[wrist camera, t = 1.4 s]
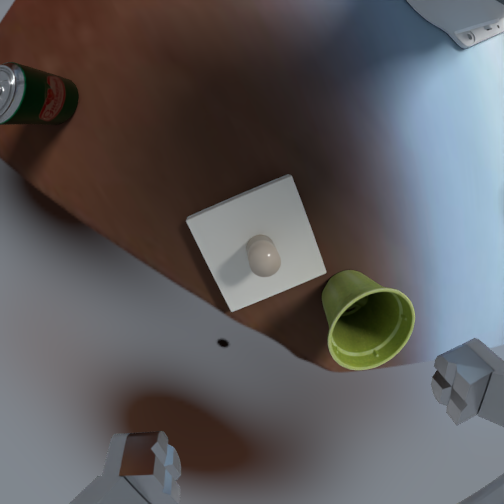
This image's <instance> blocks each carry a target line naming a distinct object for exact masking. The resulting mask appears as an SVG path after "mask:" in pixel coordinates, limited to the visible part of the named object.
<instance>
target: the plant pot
mask: <svg viewBox="0 0 504 504" xmlns="http://www.w3.org/2000/svg"><path fill="white" fill-rule="evenodd" d="M322 304H323V308H324V311H325V314H326V318H327V321H328V325H329V332H328V341H327V342H328V348H329V351H330V354H331V356H332V357H333V359H334V360H335V361H336V362H337V363H338V364H339V365H341V366H343V367H345V368H348V369H351V370H366V369H371V368H375V367H377V366H379V365H382V364H384V363H386V362H387V361H389V360H390V359H391V358H393V357H394V356H395V355H396V354H397V353H398V352H399V351H400V350H401V349H402V348H403V347H404V346H405V344H406V343H407V341H408V339H409V338H410V336H411V333H412V331H413V328H414V323H415V312H414V307H413V305H412V303H411V301H410V300H409V298H408V297H407V296H406V295H405V294H403V293H402V292H400V291H398V290H396V289H392V288H385V287H382V286H381V285H379V284H377V283H376V282H374V281H373V280H371V279H370V278H368V277H367V276H365V275H364V274H362V273H360V272H358V271H355V270H346V271H342V272H339V273H337V274H336V275H334V276H333V277H332V278H330V280H329V281H328V283H327V285H326V286H325V288H324V290H323V292H322ZM353 307H355V309H353V310H351V311H349V312H346V310H348V309H352V308H353Z"/></svg>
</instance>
